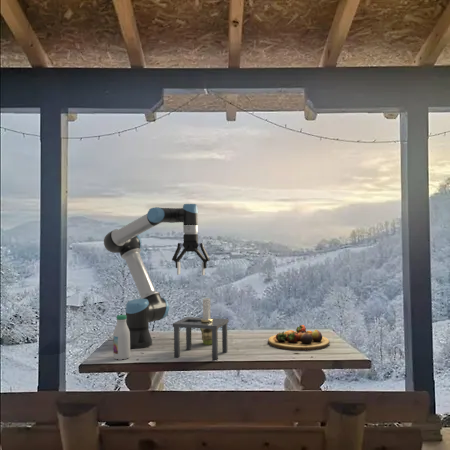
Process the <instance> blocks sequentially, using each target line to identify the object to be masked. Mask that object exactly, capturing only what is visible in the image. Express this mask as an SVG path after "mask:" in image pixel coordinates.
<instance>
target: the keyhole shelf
mask: <svg viewBox="0 0 450 450" xmlns="http://www.w3.org/2000/svg"><path fill="white" fill-rule="evenodd" d="M201 319H203V317H197V316H196V317H193V316H186V317H184V318H182V319H179V320H177V321H176V322H173V323H172V328H173V347H174V348H173V357H174V358H176V359H179V358H180V357H181V349H180V348H181V345H180V344H181V343H180V342H181V340H180V338H181V337H180V332H181V331H180V330H181V329H180V328H185V336H186V337H185V338H186V339H185V342H186V343H185V346H186V347H185V348H186V349H185V350H186V351H191V350H192V329H200V328H201V329H212V344H211V347H212V348H211V351H212V353H211V354H212V355H211V356H212V358H211V359H212V360H211V361H213V360H217V359H218V360H219V355H218V354H219V353H218V352H219V351H218V350H219V347H218V346H219V345H218V338H219V336H218V333H219V331H218V329H220V328H222V329H221V338H222V339H221V341H222V350H221V351H222V353H223V354H227V353H229V352H228V350H229V349H228V323H229V321H230V320H229V318H214V317H211V319H213V322H210V323H203V322H201ZM201 329H200V330H201ZM218 360H217V361H218Z"/></svg>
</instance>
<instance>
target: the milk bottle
mask: <svg viewBox="0 0 450 450" xmlns="http://www.w3.org/2000/svg"><path fill="white" fill-rule="evenodd" d="M126 318H127V316H126V314H118V315H116V325H115V327H114V330H113V336H112V337H113V338H112V339H113V341H112V342H113V344H112V345H113V347H112V348H113V355H112V356H113V359H114V360H117V359H118V360H121V361H123V360H122V359H124V360H128V359H130V358H131V348H130V331H129V328H128V326H127V324H126ZM129 357H130V358H129ZM127 358H128V359H127Z"/></svg>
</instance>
